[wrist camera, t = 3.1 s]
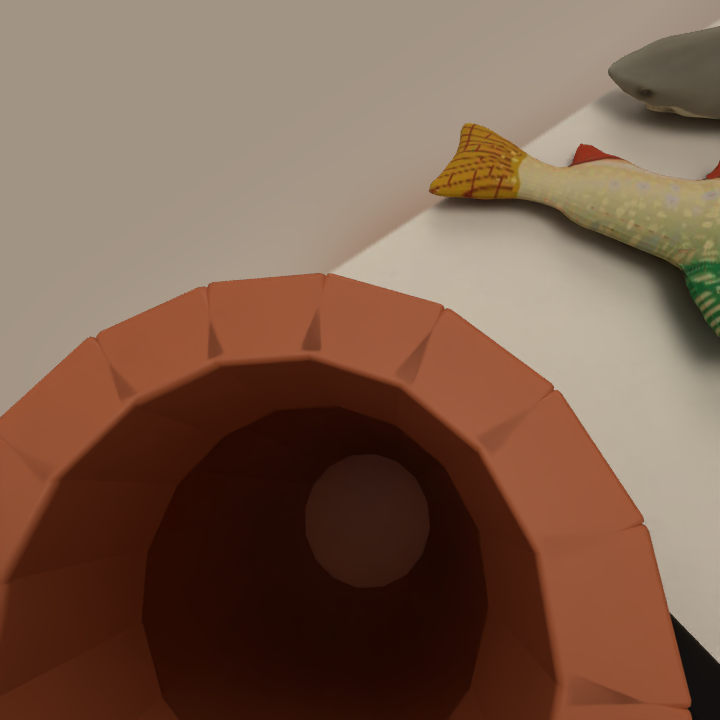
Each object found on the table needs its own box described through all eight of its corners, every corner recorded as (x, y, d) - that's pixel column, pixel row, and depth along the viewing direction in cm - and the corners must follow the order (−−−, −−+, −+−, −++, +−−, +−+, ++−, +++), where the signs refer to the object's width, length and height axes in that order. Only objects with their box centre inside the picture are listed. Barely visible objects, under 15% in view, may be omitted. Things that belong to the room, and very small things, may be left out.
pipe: (414, 619, 15) (605, 1630, 2) (277, 563, 16) (-313, 931, 3) (455, 471, 16) (731, 382, 3) (327, 428, 17) (114, 210, 4)
